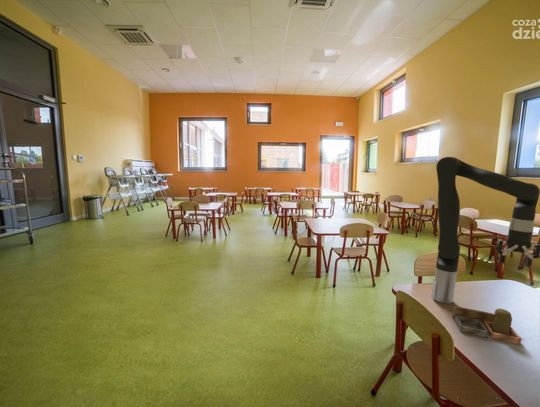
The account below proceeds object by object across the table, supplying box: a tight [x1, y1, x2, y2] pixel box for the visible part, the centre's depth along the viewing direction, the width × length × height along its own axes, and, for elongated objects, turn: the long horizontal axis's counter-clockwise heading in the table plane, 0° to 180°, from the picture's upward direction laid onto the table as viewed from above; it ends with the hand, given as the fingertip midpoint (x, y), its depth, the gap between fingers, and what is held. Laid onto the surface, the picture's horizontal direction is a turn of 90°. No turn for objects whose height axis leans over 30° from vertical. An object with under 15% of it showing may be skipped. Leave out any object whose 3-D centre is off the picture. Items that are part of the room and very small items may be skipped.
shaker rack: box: [451, 305, 522, 346], centre depth 113 cm, size 21×11×6 cm, turn 68°
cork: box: [491, 308, 512, 336], centre depth 110 cm, size 6×6×11 cm
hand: (514, 264), depth 116 cm, fingers open, 8 cm apart
